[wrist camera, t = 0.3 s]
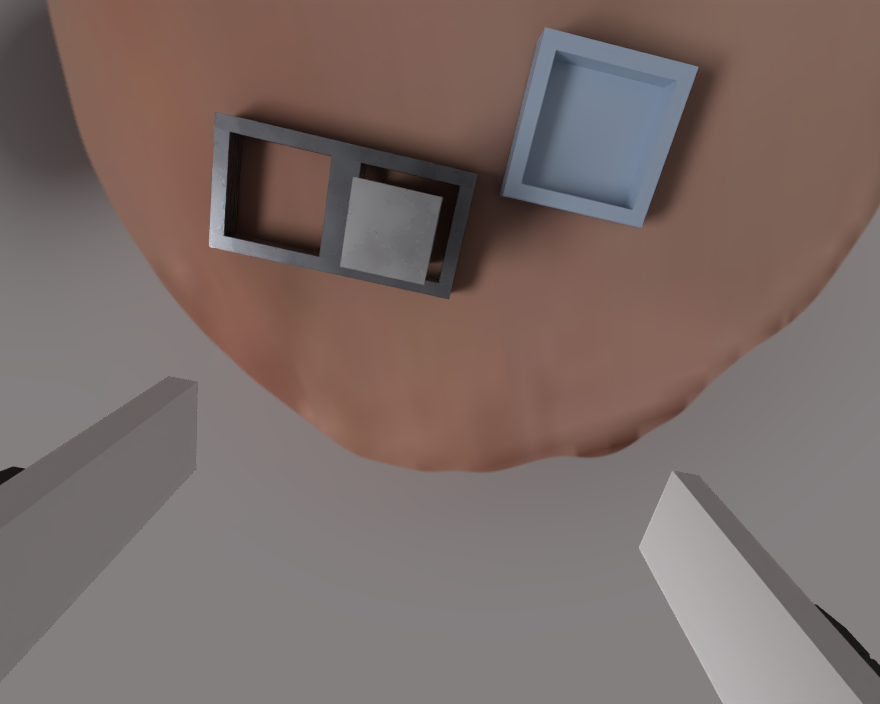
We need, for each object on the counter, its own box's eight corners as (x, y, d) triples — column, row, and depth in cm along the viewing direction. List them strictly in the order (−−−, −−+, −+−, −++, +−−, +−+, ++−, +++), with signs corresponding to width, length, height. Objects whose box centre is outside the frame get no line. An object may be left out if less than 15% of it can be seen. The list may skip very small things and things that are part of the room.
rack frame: (229, 116, 32) (215, 111, 30) (476, 175, 33) (477, 173, 31) (222, 243, 35) (209, 246, 33) (448, 293, 36) (449, 299, 34)
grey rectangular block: (377, 181, 33) (352, 176, 25) (443, 197, 33) (441, 197, 25) (366, 249, 35) (340, 266, 26) (429, 263, 35) (423, 284, 26)
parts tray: (537, 40, 30) (545, 27, 28) (679, 76, 30) (698, 66, 28) (499, 195, 33) (503, 195, 31) (627, 225, 34) (641, 227, 31)
